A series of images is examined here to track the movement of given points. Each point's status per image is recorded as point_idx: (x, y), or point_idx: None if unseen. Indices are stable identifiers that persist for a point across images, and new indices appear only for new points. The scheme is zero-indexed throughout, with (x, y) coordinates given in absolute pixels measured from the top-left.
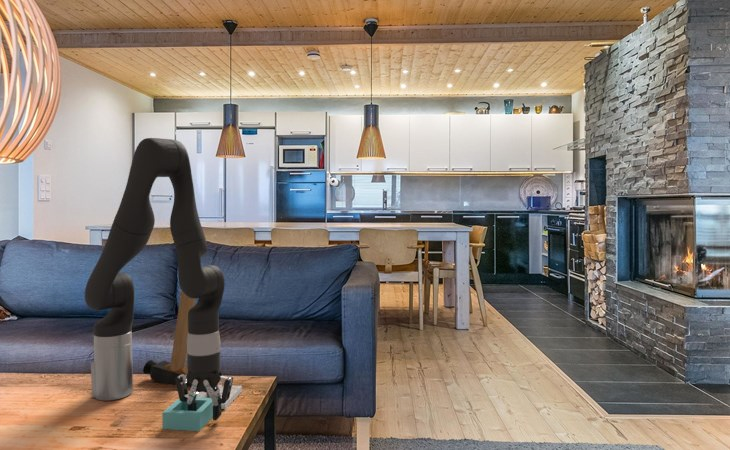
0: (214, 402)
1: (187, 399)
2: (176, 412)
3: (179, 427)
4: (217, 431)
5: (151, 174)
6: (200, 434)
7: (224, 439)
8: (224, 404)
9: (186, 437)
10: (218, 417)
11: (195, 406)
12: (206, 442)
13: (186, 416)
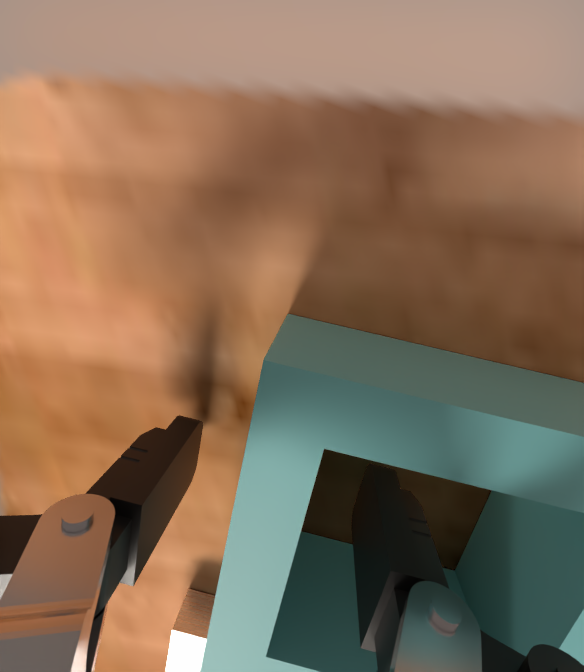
0: (84, 532)
1: (481, 663)
2: (567, 450)
3: (461, 360)
4: (150, 293)
5: None
6: (268, 257)
7: (55, 148)
8: (178, 627)
9: (373, 216)
10: (151, 430)
11: (364, 580)
12: (183, 104)
13: (422, 383)
